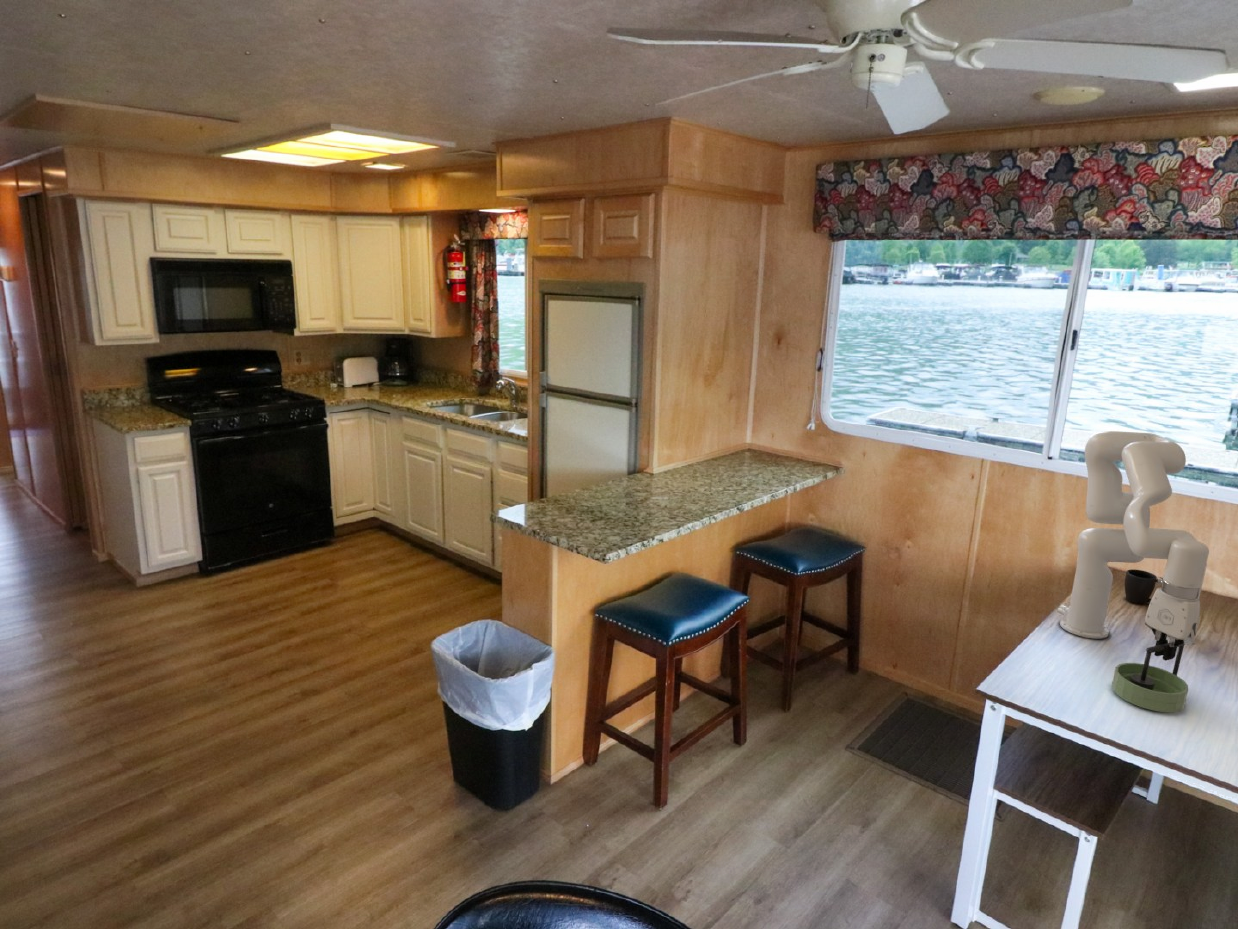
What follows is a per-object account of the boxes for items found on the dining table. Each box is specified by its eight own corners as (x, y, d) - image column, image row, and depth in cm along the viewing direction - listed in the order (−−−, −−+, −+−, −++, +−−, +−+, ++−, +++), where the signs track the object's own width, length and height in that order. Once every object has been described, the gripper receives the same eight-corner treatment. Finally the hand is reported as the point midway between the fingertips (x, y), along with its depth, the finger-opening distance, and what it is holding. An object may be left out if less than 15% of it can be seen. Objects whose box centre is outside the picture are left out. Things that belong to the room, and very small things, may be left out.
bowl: (1097, 687, 200) (1101, 668, 199) (1138, 677, 206) (1142, 659, 204) (1156, 719, 186) (1160, 698, 185) (1198, 708, 192) (1202, 688, 191)
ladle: (1165, 673, 202) (1174, 635, 199) (1185, 682, 197) (1194, 644, 194) (1124, 683, 196) (1133, 644, 193) (1144, 693, 192) (1153, 654, 189)
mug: (1164, 612, 247) (1170, 584, 244) (1119, 601, 254) (1125, 574, 251) (1165, 603, 253) (1171, 576, 251) (1122, 593, 260) (1127, 567, 258)
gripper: (1138, 579, 196) (1123, 645, 201) (1202, 605, 182) (1185, 675, 187) (1158, 575, 199) (1143, 640, 204) (1223, 600, 185) (1205, 670, 190)
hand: (1163, 656), depth 195 cm, fingers closed on ladle, 1 cm apart
